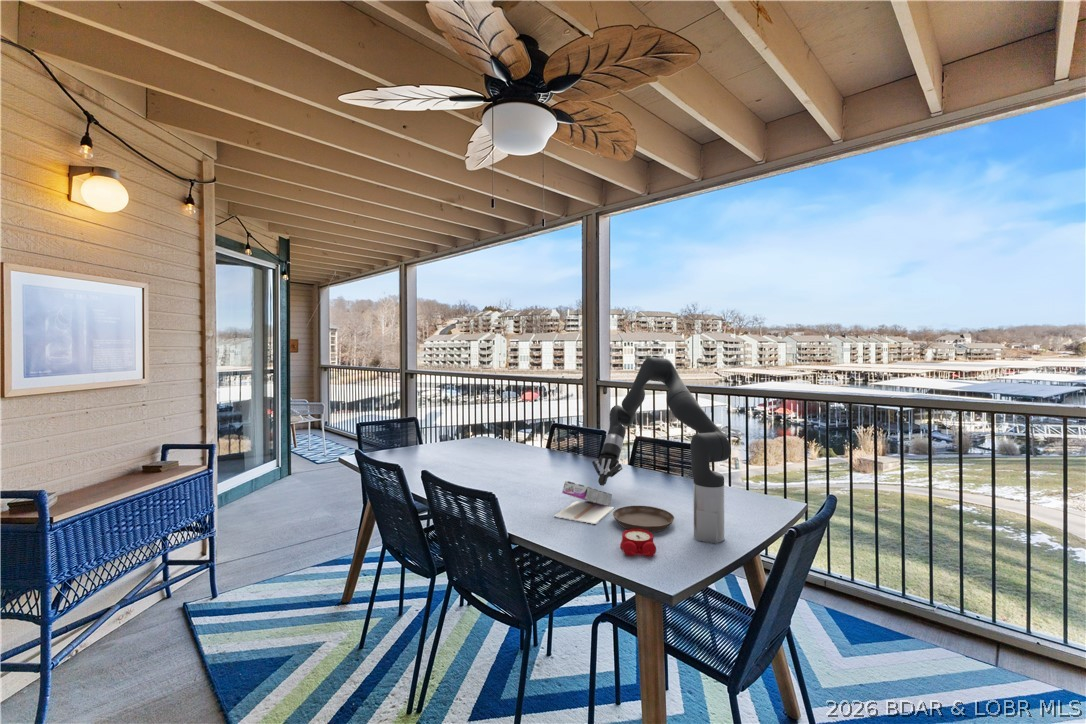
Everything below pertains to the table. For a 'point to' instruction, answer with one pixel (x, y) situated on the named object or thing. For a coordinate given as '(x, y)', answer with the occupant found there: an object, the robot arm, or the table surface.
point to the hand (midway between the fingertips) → (601, 484)
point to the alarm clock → (638, 542)
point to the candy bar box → (587, 493)
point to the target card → (585, 512)
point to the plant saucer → (643, 518)
